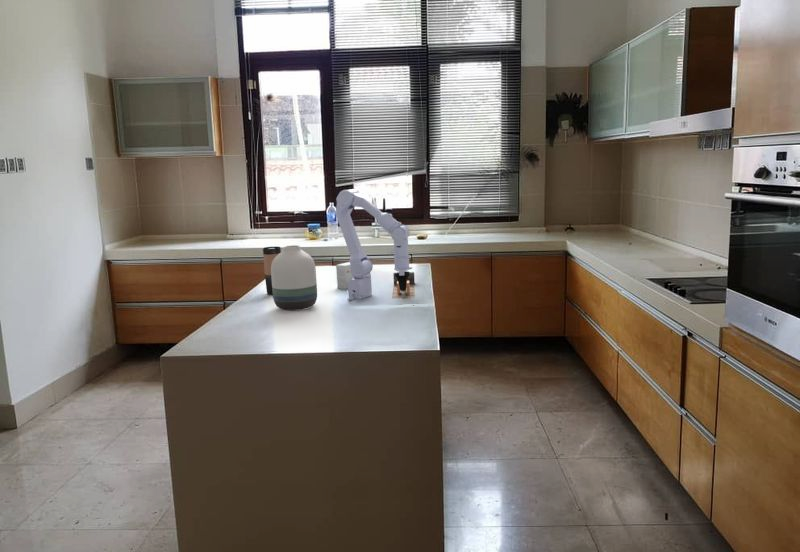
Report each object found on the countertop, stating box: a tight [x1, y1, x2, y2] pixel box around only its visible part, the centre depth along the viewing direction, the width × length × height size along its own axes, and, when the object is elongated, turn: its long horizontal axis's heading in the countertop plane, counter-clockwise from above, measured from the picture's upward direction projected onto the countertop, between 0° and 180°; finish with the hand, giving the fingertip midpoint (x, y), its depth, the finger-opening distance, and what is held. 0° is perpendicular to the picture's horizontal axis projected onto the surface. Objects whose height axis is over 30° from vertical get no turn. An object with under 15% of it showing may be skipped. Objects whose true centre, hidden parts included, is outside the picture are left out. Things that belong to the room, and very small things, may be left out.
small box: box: [335, 261, 353, 290], centre depth 285 cm, size 8×6×10 cm
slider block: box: [397, 281, 410, 295], centre depth 261 cm, size 6×5×4 cm
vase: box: [271, 244, 318, 311], centre depth 246 cm, size 17×17×24 cm
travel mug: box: [262, 246, 282, 296], centre depth 278 cm, size 8×8×20 cm
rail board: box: [391, 271, 416, 300], centre depth 267 cm, size 32×9×6 cm, turn 179°
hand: (403, 290), depth 254 cm, fingers closed
